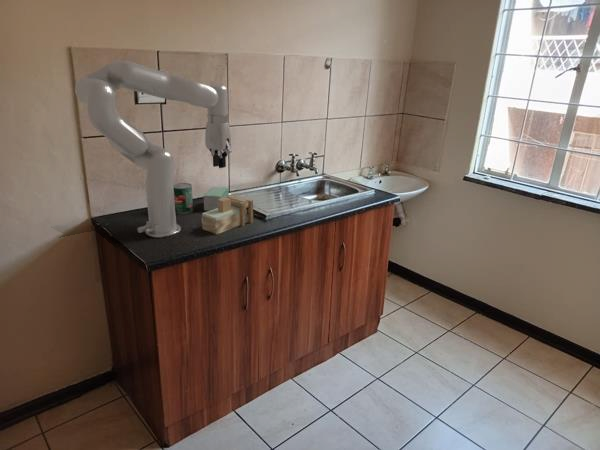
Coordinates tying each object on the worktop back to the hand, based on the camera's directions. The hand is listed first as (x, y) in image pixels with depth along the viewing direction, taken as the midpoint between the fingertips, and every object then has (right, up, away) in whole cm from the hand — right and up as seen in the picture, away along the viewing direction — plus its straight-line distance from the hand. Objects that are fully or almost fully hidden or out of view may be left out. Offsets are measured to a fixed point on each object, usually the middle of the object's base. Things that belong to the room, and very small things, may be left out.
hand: (219, 166), depth 175 cm
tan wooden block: (+7, -15, 0) cm, 17 cm away
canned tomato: (-18, -17, +14) cm, 28 cm away
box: (-4, -16, +19) cm, 25 cm away
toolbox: (+3, -24, -3) cm, 24 cm away
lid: (+3, -18, -5) cm, 19 cm away
